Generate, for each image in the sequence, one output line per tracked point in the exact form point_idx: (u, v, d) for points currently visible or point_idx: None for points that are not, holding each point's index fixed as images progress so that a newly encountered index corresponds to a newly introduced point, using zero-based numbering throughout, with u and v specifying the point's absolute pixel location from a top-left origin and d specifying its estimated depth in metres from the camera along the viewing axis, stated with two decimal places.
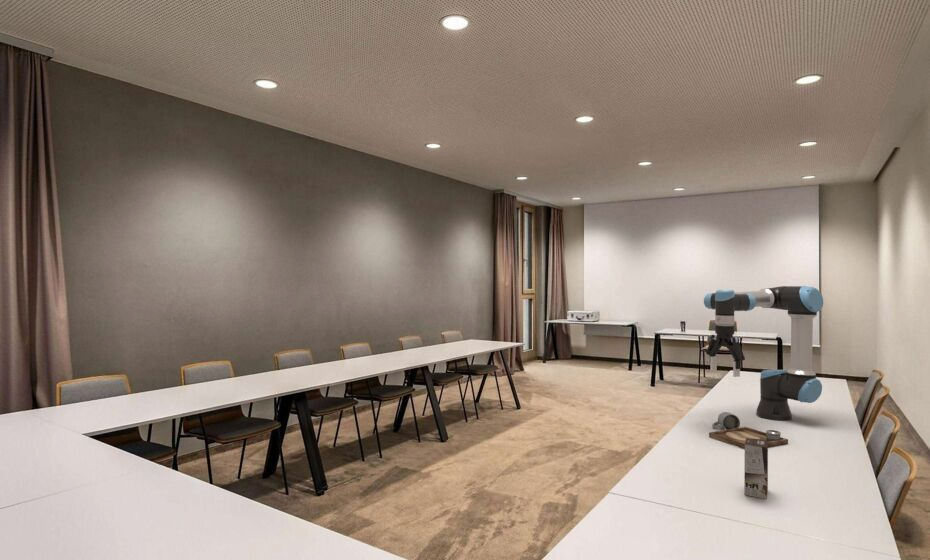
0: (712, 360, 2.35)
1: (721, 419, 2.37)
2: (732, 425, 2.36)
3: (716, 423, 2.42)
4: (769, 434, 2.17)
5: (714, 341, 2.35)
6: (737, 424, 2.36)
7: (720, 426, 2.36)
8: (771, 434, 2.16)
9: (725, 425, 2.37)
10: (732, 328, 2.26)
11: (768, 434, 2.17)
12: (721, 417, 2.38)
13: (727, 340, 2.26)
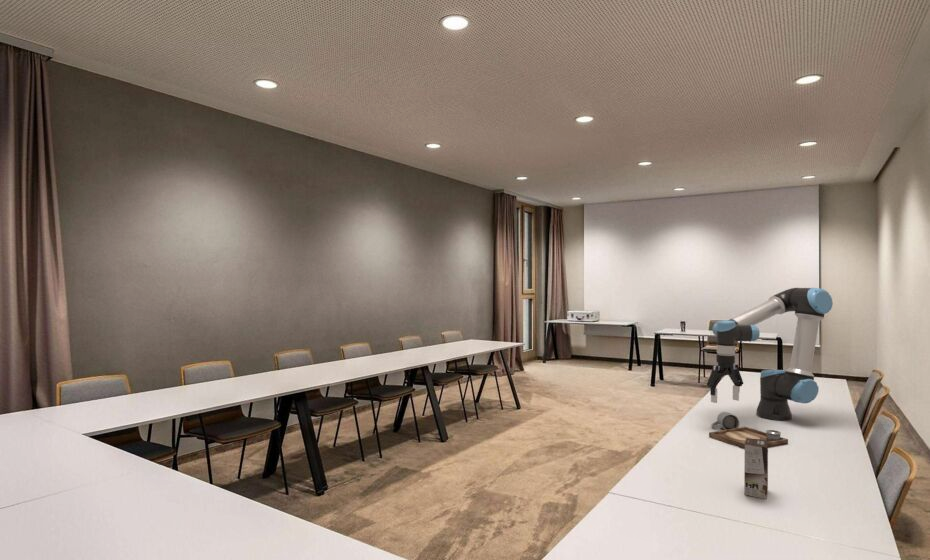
0: (733, 389, 2.42)
1: (720, 419, 2.37)
2: (731, 425, 2.36)
3: (715, 423, 2.42)
4: (769, 434, 2.17)
5: (734, 371, 2.41)
6: (736, 424, 2.36)
7: (719, 426, 2.36)
8: (771, 434, 2.16)
9: (724, 425, 2.37)
10: (721, 357, 2.36)
11: (768, 434, 2.17)
12: (720, 417, 2.38)
13: None
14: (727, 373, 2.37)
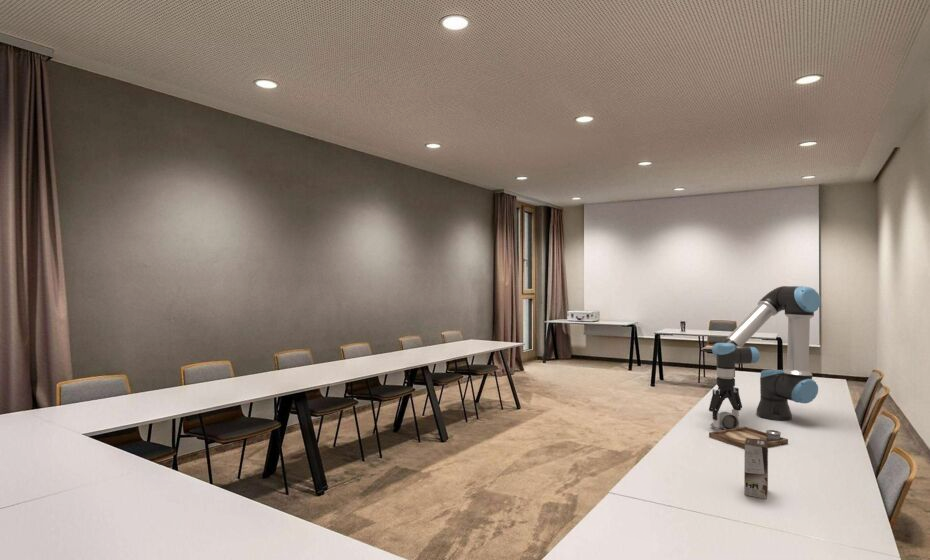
0: (732, 413, 2.41)
1: (720, 419, 2.37)
2: (731, 425, 2.36)
3: None
4: (769, 434, 2.17)
5: (734, 394, 2.41)
6: (736, 424, 2.36)
7: (719, 426, 2.36)
8: (771, 434, 2.16)
9: (724, 425, 2.37)
10: (721, 380, 2.36)
11: (768, 434, 2.17)
12: (720, 417, 2.38)
13: None
14: (727, 396, 2.37)
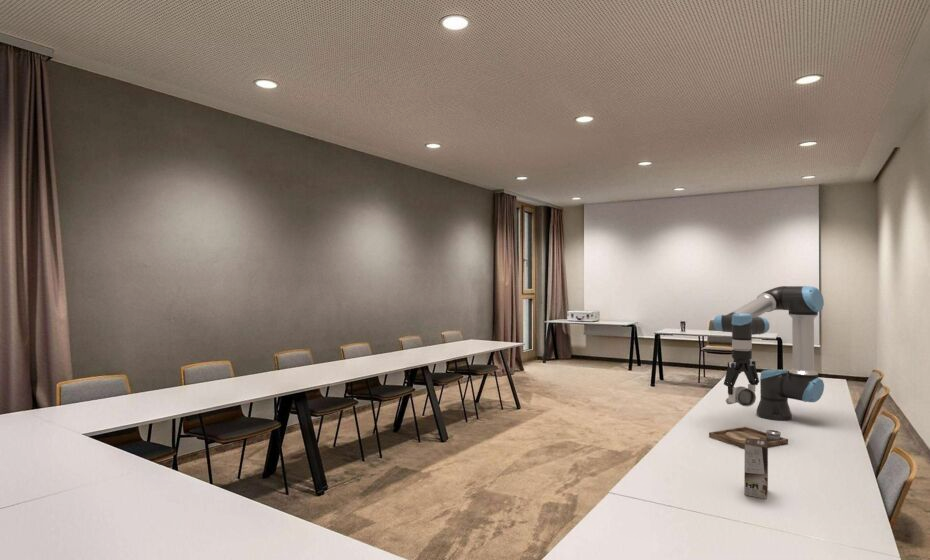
0: None
1: (735, 394, 2.23)
2: (747, 400, 2.22)
3: None
4: (769, 434, 2.17)
5: (751, 367, 2.26)
6: (752, 399, 2.22)
7: None
8: (771, 434, 2.16)
9: (740, 400, 2.23)
10: (737, 352, 2.22)
11: (768, 434, 2.17)
12: (735, 392, 2.24)
13: None
14: (744, 369, 2.23)
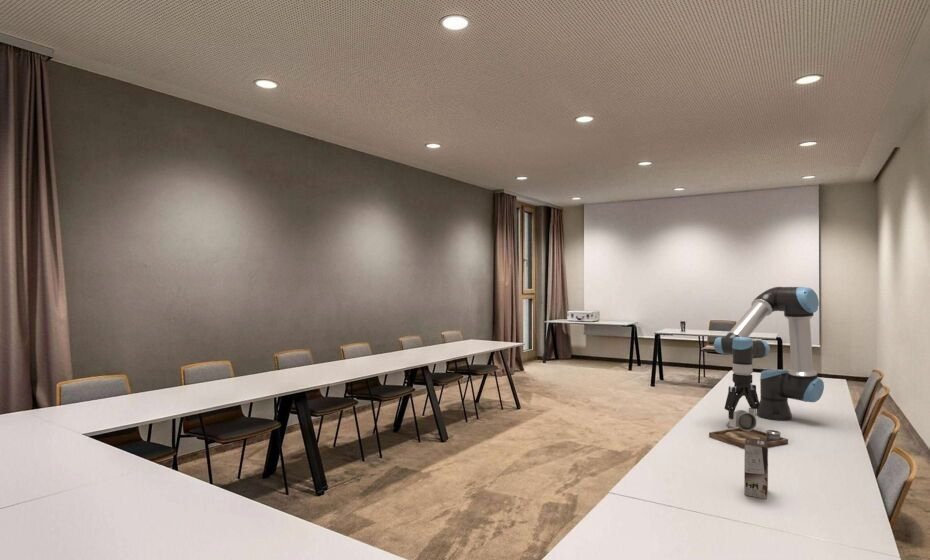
0: (749, 412, 2.27)
1: (736, 418, 2.22)
2: (748, 424, 2.21)
3: None
4: (769, 434, 2.17)
5: (751, 391, 2.26)
6: (753, 423, 2.21)
7: None
8: (771, 434, 2.16)
9: (740, 424, 2.22)
10: (738, 377, 2.21)
11: (768, 434, 2.17)
12: (736, 416, 2.23)
13: None
14: (744, 393, 2.23)
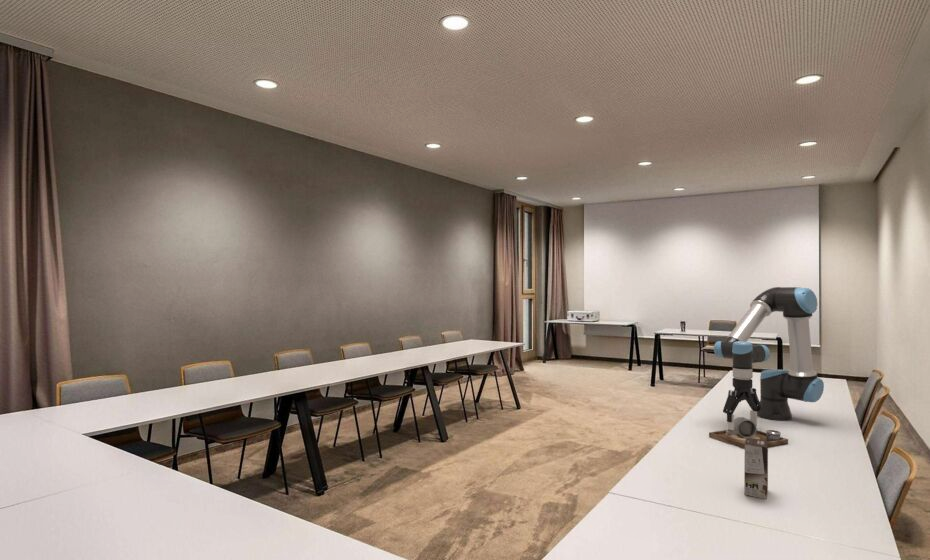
0: (751, 414, 2.27)
1: (736, 425, 2.23)
2: (748, 431, 2.21)
3: None
4: (769, 434, 2.17)
5: (752, 395, 2.26)
6: (753, 430, 2.22)
7: (735, 432, 2.22)
8: (771, 434, 2.16)
9: (740, 431, 2.22)
10: (738, 381, 2.21)
11: (768, 434, 2.17)
12: (736, 423, 2.23)
13: None
14: (744, 398, 2.23)
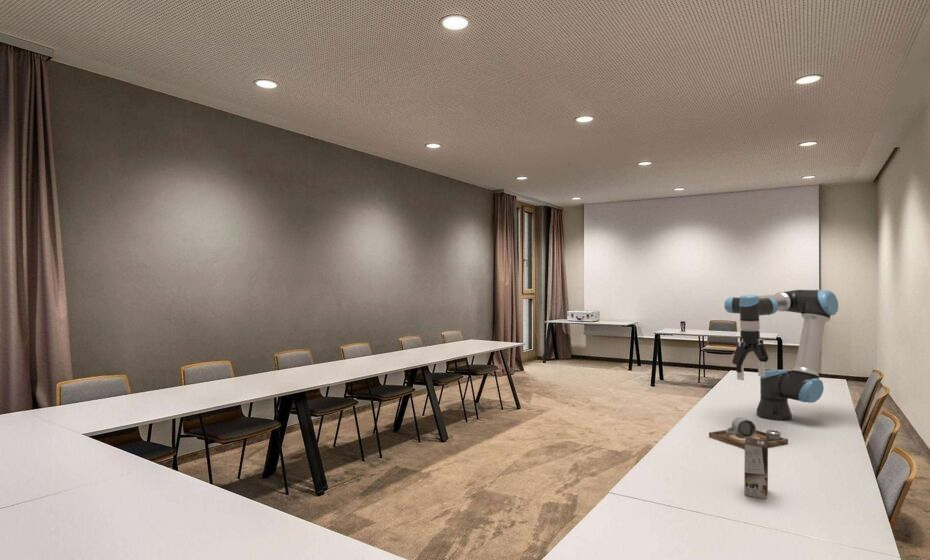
0: (759, 365, 2.36)
1: (735, 425, 2.23)
2: (747, 431, 2.21)
3: (730, 429, 2.27)
4: (769, 434, 2.17)
5: (759, 346, 2.35)
6: (753, 430, 2.22)
7: (734, 432, 2.22)
8: (771, 434, 2.16)
9: (740, 431, 2.22)
10: (745, 333, 2.30)
11: (768, 434, 2.17)
12: (735, 423, 2.23)
13: None
14: (752, 349, 2.31)
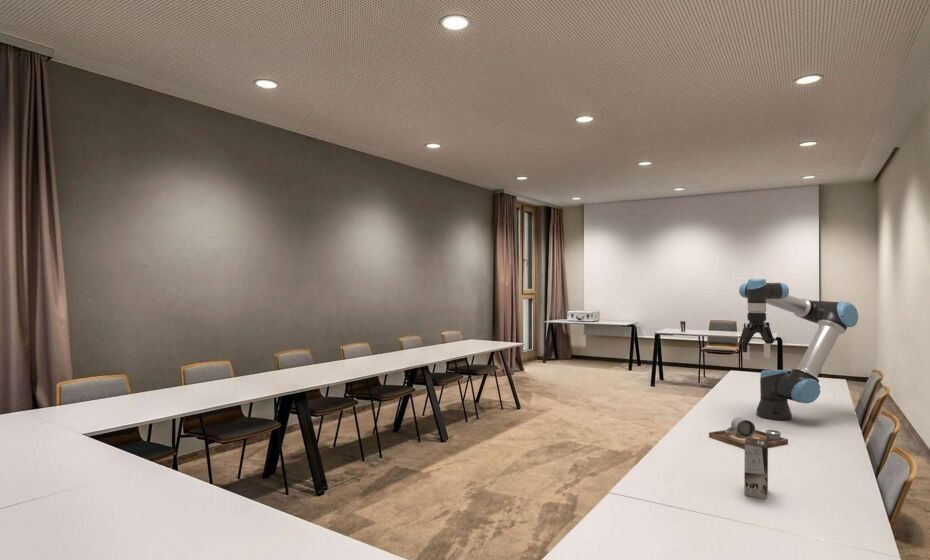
0: (764, 346, 2.44)
1: (735, 425, 2.23)
2: (747, 431, 2.21)
3: (729, 429, 2.27)
4: (769, 434, 2.17)
5: (765, 328, 2.43)
6: (752, 430, 2.22)
7: (734, 432, 2.22)
8: (771, 434, 2.16)
9: (739, 431, 2.22)
10: (752, 315, 2.38)
11: (768, 434, 2.17)
12: (735, 423, 2.23)
13: None
14: (758, 330, 2.40)
